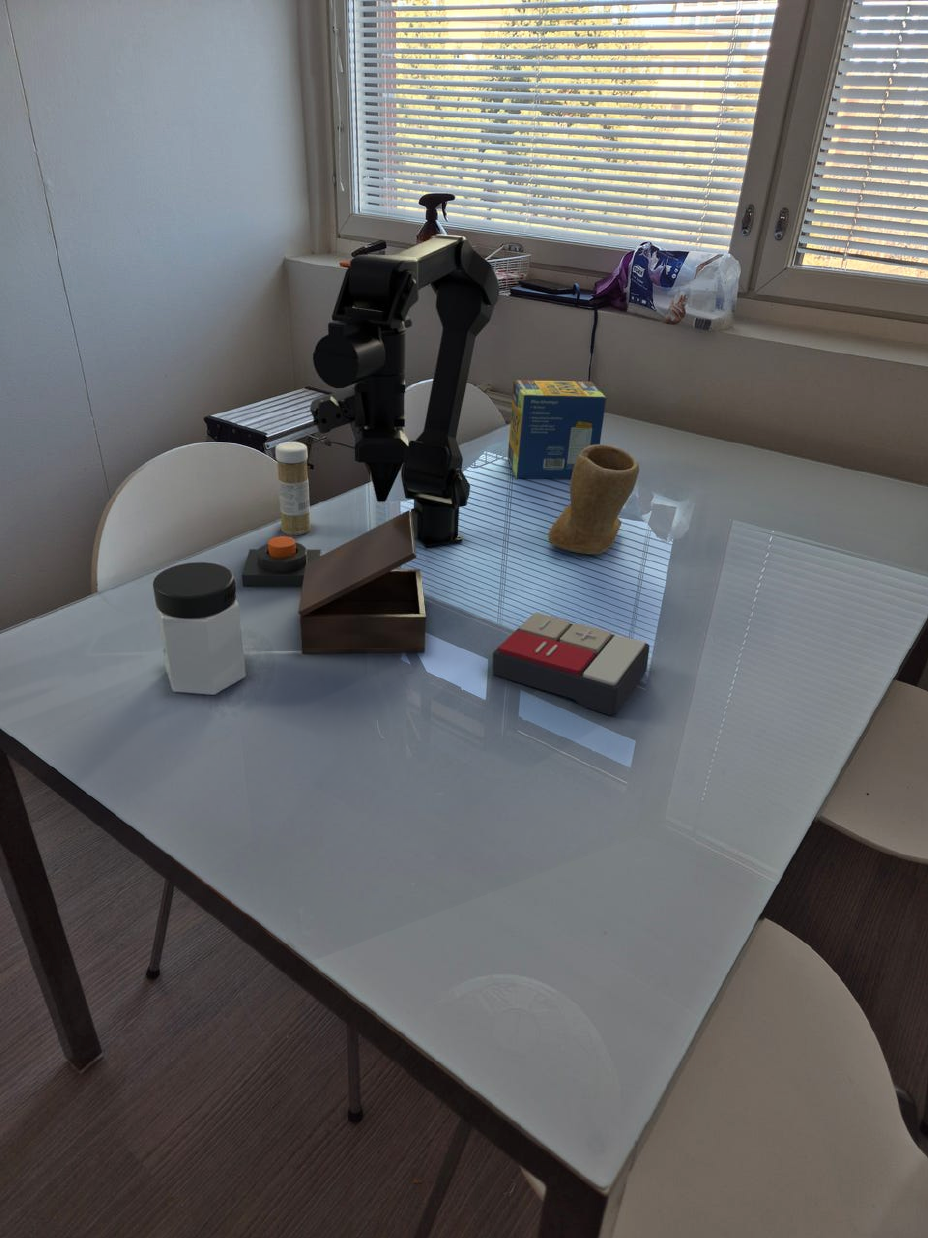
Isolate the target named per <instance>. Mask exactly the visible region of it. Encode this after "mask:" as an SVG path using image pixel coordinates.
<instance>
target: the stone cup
mask: <svg viewBox="0 0 928 1238" xmlns="http://www.w3.org/2000/svg"><path fill="white" fill-rule="evenodd" d="M639 472H640V465H639V463H638V461H637V459H636V458H635V457H634V455H632V454H630V453H629V452H627V451H626V450H624V449H622V448H620V447H617V446H614V445H609V444H605V443H604V444H601V443H600V444H597V445H591V446H588V447H586V448H584V449H583V450H582V451H581V452H580V453H579V455H578V457H577V459H576V462H575V465H574V469H573V472H572V477H571V479H570V481H569V497H570V503H569V504H567V506H566V507H565V508H564V509H563V511H561V513H560V515H559V516H558V517H557V518H556V520H555V521H554V523H553V524H552V525H551V528H550V530H549V532H548V536H547V538H548V541H549V543H550V544H551V545H553V546H554V547H557V548H559V549H561V550H565V551H568V552H572V553H575V554H576V553H577V554H583V555H601V554H603V553H605V552H606V551H608V550H609V548H610V547H612V545H613V543H614V542H615V540H616V538H617V536H618V533H619V531H620V527H621V526H622V520H620V519H619V514H620V512H621V511H622V509H624V506H625V505H626V503H627V501H628V500H629V498H630V497H631V495H632V494H633V491H634V489H635V486H636V484H637V479H638V475H639Z"/></svg>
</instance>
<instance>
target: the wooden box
mask: <svg viewBox="0 0 928 1238" xmlns="http://www.w3.org/2000/svg"><path fill="white" fill-rule="evenodd" d="M421 570H422V569H421V568H395V569H394V570H392V571H390V572H388V573H386V574H384V575H382V576H380V577H378V578H376V579H374V580H372V581H370V582H368V583H366V584H364V585H362V586H360V587H358V588H356V589H354V590H352V591H351V592H349V593H347V594H345V595H343V596H341V597H339V598H337V599H335V600H333V601H331V602H329V603H327V604H325V605H323V606H321V607H319V608H317V609H315V610H313V611H311V612H310V613H308V614H306V615H304V616H302V617H301V615H300V614H299V624H300V625H299V626H300V642H301V643H300V644H301V654H308V655H309V654H390V653H392V654H396V653H397V654H399V653H400V654H401V653H403V654H404V653H405V654H406V653H412V654H413V653H426V623H427V615H426V607H425V606H426V605H425V599H424V598H425V597H424V589H423V588H424V587H423V581H422V571H421Z"/></svg>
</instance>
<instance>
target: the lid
mask: <svg viewBox="0 0 928 1238" xmlns="http://www.w3.org/2000/svg"><path fill="white" fill-rule="evenodd" d="M415 540H416V539H415V537H414V531H413V521H412V514H411V509H409V510H406V511H404V512H403V513H400V514H399V515H396V516H395V517H393V518H391V519H389V520H387V521H385V522H383V523H382V524H381V523H380V525H378V526H376V527H374V528H371V529H370V530H367V531H366V532H365V533H362V534H361V535H359V536H356V537H354V538H353V539H351V540H348V541H347V542H345V543H343V544H341V545H339V546H338V547H337V546H336V547H335V548H334V549H332V550H330V551H328V552H326V553H324V554H322V556H320V557H318V558H316V559H314V560H313V561H311V562H309V563H307V564H306V566H305V573H304V579H303V585H302V587H301V593H300V599H299V605H298V611H297V612H298V614H299V616H300V615H301V617H302V616H304V615H306V614H308V613H310V612H311V611H313V610H315V609H317V608H319V607H321V606H323V605H325V604H327V603H329V602H331V601H333V600H335V599H337V598H339V597H341V596H343V595H345V594H347V593H349V592H351V591H352V590H354V589H356V588H358V587H360V586H362V585H364V584H366V583H368V582H370V581H372V580H374V579H376V578H378V577H380V576H382V575H384V574H386V573H388V572H390V571H392V570H394V569H398V568H399V567H401V566H404V565H405V564H407V563H410V562H411V561H413V560H415V559H417V552H416V543H415V542H416V541H415Z"/></svg>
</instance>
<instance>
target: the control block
mask: <svg viewBox="0 0 928 1238" xmlns="http://www.w3.org/2000/svg"><path fill="white" fill-rule="evenodd" d="M295 548H296V553H295V555H294V556H291V557H287V558H275V557H271V556H270V555H269V550H268V543H265V544H264V545H262V546H260V547H258V548H255V549H254V548H251V549H249V550H248V553H247V556H246V559H245V562H244V566H243V570H242V572H241V584H242V588H302V585H303V579H304V573H305V566H306V564H307V563H309V562H311V561H313V560H314V559H316V558H318V557H320V556H322V555H323V554H322V553H323V552H322V549H308V548H307V547H306V546H304V545H303V544H302V543H299V542H295Z"/></svg>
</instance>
